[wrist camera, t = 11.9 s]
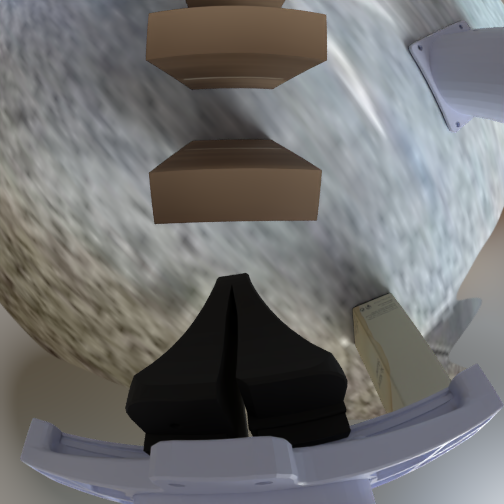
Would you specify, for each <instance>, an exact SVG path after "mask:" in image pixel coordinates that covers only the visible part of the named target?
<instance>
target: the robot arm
mask: <svg viewBox="0 0 504 504" xmlns="http://www.w3.org/2000/svg"><path fill="white" fill-rule="evenodd" d="M418 46H419V48H420V50H419V49H418ZM409 50H410V52H411V54H412V56H413V57H414V59H415V61H416V62H417V64H418V66H419V68H420V69H421V71H422V73H423V75H424V77H425V78H426V80H427V82H428V84H429V86H430V88H431V90H432V92H433V94H434V96H435V98H436V100H437V102H438V105H439V107H440V109H441V111H442V113H443V116H444V118H445V120H446V123H447V125H448V128H449V130H450V131H451V132H454V133H455V132H457V131H458V130H459V129H461V128H462V127H463V126H464V125H465V124H466V123H468V122H469V121H470V120H471V119H472V118H473V117H479V118H484V119H489V120H493V121H497V122H501V123H504V27H493V28H480V29H470V27H469V25H468V24H467V22H465V21H464V20H462V21H459V22H457V23H454V24H452V25H450V26H448V27H445V28H443V29H441V30H439V31H437V32H435V33H433V34H430V35H428V36H426V37H424V38H422V39H420V40H418V41H417V42H415V43H413V44H411V45H410V46H409ZM456 123H457V126H456ZM346 390H347V379H346V376H345V374H344V372H343V370H342V368H341V366H340V365H339V363H338V362H337V360H336V359H335V357H334V356H333V355H332V353H330V352H328V351H326V350H324V349H322V348H320V347H318V346H316V345H314V344H312V343H310V342H309V341H307V340H306V339H304V338H303V337H301V336H300V335H298V334H297V333H296V332H294V331H293V330H292V329H290V328H289V327H288V326H287V325H286V324H284V323H283V322H282V321H281V320H280V319H279V318H278V317H277V316H276V315H275V314H274V313H273V312H272V311H271V310H270V309H269V307H268V306H267V305H266V304H265V303H264V301H263V300H262V299H261V297H260V296H259V294H258V293H257V291H256V290H255V288H254V286H253V285H252V283H251V280H250V278H249V275H248V274H247V273H243V274H236V275H229V276H223V277H219V278H218V279H217V281H216V283H215V285H214V288H213V290H212V292H211V294H210V296H209V297H208V299H207V301H206V303H205V305H204V306H203V308H202V310H201V311H200V313H199V314H198V316H197V317H196V319H195V320H194V322H193V323H192V324H191V326H190V327H189V328H188V330H187V331H186V332H185V333H184V335H183V336H182V337H181V338H180V339H179V340H178V341H177V342H176V343H175V344H174V345H173V346H172V347H171V348H170V349H169V350H168V351H167V352H166V353H164V354H163V355H162V356H161V357H160V358H158V359H157V360H156V361H155V362H153V363H152V364H151V365H149V366H148V367H146V368H145V369H143V370H142V371H140V372H139V373H137V374H136V375H134V378H133V380H132V383H131V386H130V390H129V394H128V398H127V403H126V407H125V409H126V413H127V414H128V415H129V417H130V418H131V419H132V420H133V421H134V422H135V423H136V424H137V425H138V426H139V427H140V428H141V429H142V430H143V431H144V432H145V433H146V434H145V441H144V446H137V445H127V444H120V443H113V442H106V441H100V440H95V439H89V438H84V437H80V436H75V435H71V434H67V433H63V432H61V430H59V429H58V428H57V427H56V426H54V425H53V424H51V423H49V422H47V421H43V420H40V419H36V418H33V419H32V422H31V425H30V428H29V431H28V434H27V437H26V441H25V444H24V447H23V451H22V454H21V458H20V459H21V461H22V462H24V463H25V464H27V465H28V466H30V467H31V468H33V469H35V470H36V471H38V472H40V473H41V474H43V475H45V476H47V477H48V478H50V479H52V480H54V481H56V482H58V483H61V484H63V485H66V486H69V487H71V488H74V489H77V490H80V491H82V492H86V493H88V494H91V495H94V496H98V497H101V498H104V499H108V500H111V501H115V502H119V503H122V504H376V502H375V499H374V495H373V492H372V488H375V487H378V486H380V485H382V484H385V483H388V482H390V481H392V480H394V479H397V478H399V477H401V476H403V475H405V474H407V473H409V472H411V471H413V470H415V469H417V468H419V467H421V466H423V465H425V464H427V463H429V462H430V461H432V460H434V459H436V458H438V457H439V456H441V455H443V454H444V453H446V452H448V451H449V450H451V449H453V448H454V447H456V446H457V445H459V444H461V443H462V442H464V441H465V440H467V439H468V438H470V437H471V436H473V435H474V434H475V433H476V432H478V430H480V429H481V428H482V427H483V426H484V425H485V424H486V423H487V422H488V421H489V420H490V419H491V418H493V416H494V415H495V414H496V413H497V412H498V411H499V410H500V409H501V408H502V407H503V403H502V401H501V399H500V398H499V396H498V395H497V393H496V391H495V390H494V388H493V386H492V385H491V383H490V381H489V380H488V378H487V377H486V375H485V374H484V372H483V371H482V369H481V368H480V366H479V365H478V364H474V365H473V366H471V367H469V368H467V369H466V370H464V371H462V372H460V373H459V374H457V375H456V376H455V377H454V378H453V379H452V381H451V382H450V384H449V387H447V388H445V389H443V390H441V391H439V392H437V393H435V394H433V395H431V396H428V397H426V398H424V399H422V400H420V401H417V402H415V403H413V404H410V405H408V406H406V407H403V408H401V409H398V410H395V411H393V412H390V413H387V414H385V415H382V416H379V417H376V418H373V419H370V420H367V421H364V422H361V423H358V424H354V425H351V426H349V423H348V420H347V417H346V414H345V413H346V407H345V404H344V397H345V393H346ZM244 404H245V405H244ZM245 407H246V410H247V415H248V426H249V430H250V431H251V434H252V436H253V437H248V429H247V421H246V414H245Z"/></svg>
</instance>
